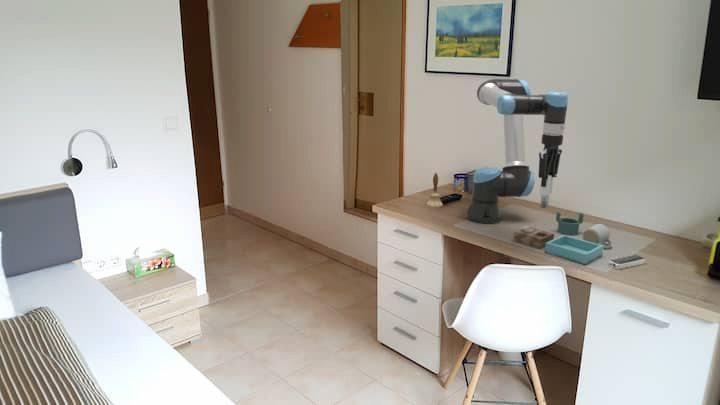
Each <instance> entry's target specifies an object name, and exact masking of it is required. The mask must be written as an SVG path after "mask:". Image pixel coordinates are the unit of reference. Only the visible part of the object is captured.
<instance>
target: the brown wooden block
mask: <svg viewBox="0 0 720 405" xmlns="http://www.w3.org/2000/svg"><path fill="white" fill-rule="evenodd" d="M553 239H555V233H553V232H550V231H546V230H542V229H539V228H535V227H532V226H526V225H525V226H522V227H521V228H520V229H517V230H515V231H514V232H513V239H512V241H514V242H516V243H519V244H523V245H526V246H529V247H533V248H535V249H539V250H541V249H543V248H544V249H545V246H546V242H549V241H551V240H553Z"/></svg>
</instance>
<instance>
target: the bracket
mask: <svg viewBox="0 0 720 405" xmlns="http://www.w3.org/2000/svg"><path fill="white" fill-rule="evenodd" d="M561 215H562V212H561V211H556V216H555V217H556V218H555V221H556V222H557V223H558V225H557V232H558V233H559V234H561V235H567V236H577V235H579V229H580V224H583V223H584V217H585V216H584V215H585V214H584V212H579V214H578V219H576V218H573V217H572V218H571V217H561Z"/></svg>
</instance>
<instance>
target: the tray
mask: <svg viewBox="0 0 720 405" xmlns="http://www.w3.org/2000/svg"><path fill="white" fill-rule="evenodd" d="M603 251H604V248H603V245H599V244H596V243H592V242H588V241H585V240H584V239H581V238H577V237H574V236H571V235H565V234H561V235H560V236H558V237H556V238H555V237H554V239H553V240H551V241H549V242H546V246H545V247H544V253H545V254H548V255H552V256H555V257H558V258H562V259H564V260H567V261H570V262H574V263H577V264H580V265H583V266H585V265H588V264H590V263H591V262H593V261H595V260H597V259H598V258H600V257H602V256H603V253H604V252H603ZM596 258H597V259H596ZM594 259H595V260H594ZM589 262H590V263H589Z"/></svg>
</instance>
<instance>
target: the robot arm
mask: <svg viewBox="0 0 720 405" xmlns="http://www.w3.org/2000/svg"><path fill="white" fill-rule="evenodd" d="M476 97H477V99H478V101H479V102H480V103H481V104H483V105H486V106H493V107H495V108H496V109H497V112H498V114H499V115H503V127H504V128H503V129H504V130H503V131H504V151H505V152H504V156H505V164H504V165H503V166H502V169H501V168H500V167H497V166H486V167H481V168H477V170H475V171H474V174H473V180H472V182H473V184H472V194H471V202H470V205H469V208H468V209H467V212H466V219H467V220H469V221H470V222H474V223H479V224H495V223H496V224H497V223H499V222H500V221H501V220H502V219H501V216H502V214H501V210H500V206H499V198H502V197H505V198H506V197H507V198H511V197H512V198H513V197H514V198H515V197H517V198H522V197H523V198H524V197H528V196H530V195H531V193H532V192H533V190H534V187H535V181H536V180H535V179H536V178H535V176H536V175H535V173H534V172H533V170H530V166H529V165H528V164H527V163H526V152H525V151H526V149H525V128H524V127H525V126H524V124H525V123H524V116H525V115H527V116H528V115H529V116H531V115H532V116H533V115H536V116H543V124H542V125H543V126H542V134H541V135H542V136H541V144H542V145H544V147H543V149H542V150H543V151H542V152H539V154H538V158H539V162H538V178H540V179H541V180H540V189H539V194H540V195H541V196H542V195H547V192H548V184H549V179H548V175H552V178H551V186H550V194H549V195H551V194H552V193H553V187H554V186H553V184H554V178H557V176H558V171H559V167H560V160H561V155H562V153H563V150H562V149H559V148H560V147H559V146H562V145H563V139H564V132H565V129H566V126H565V122H566V116H567V109H568V104H569V102H568V101H569V95H568V94H567V93H566V92H561V91H549V92H547V94H538V95H536V94H531V88H530V85H529V82H527V80H524V79H518V78H513V79H512V78H511V79H510V78H505V79H503V78H491V79H488V80H486V81H483V82H482V83H481V84H479V86H478V87H477V90H476Z"/></svg>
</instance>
